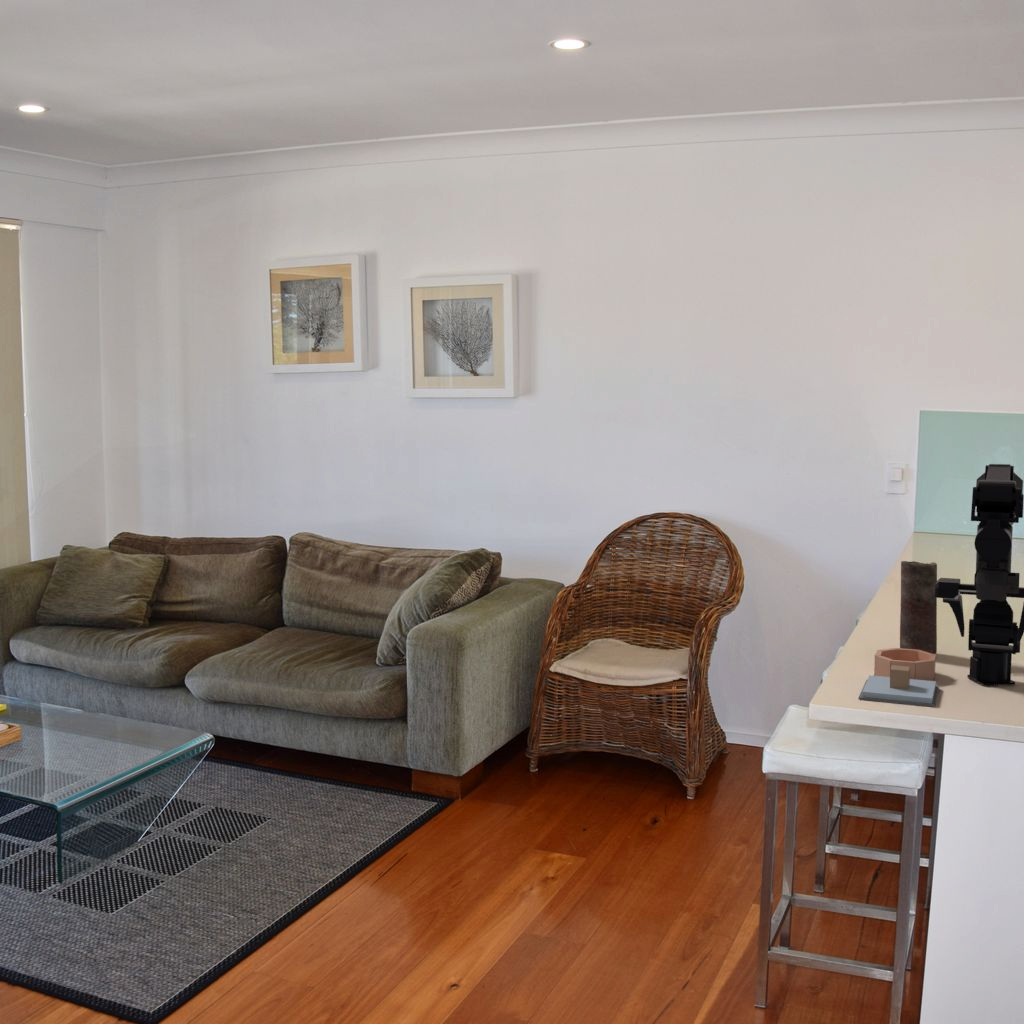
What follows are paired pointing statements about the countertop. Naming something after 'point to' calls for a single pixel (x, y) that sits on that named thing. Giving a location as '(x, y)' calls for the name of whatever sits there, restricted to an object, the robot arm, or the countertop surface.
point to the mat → (901, 701)
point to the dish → (906, 662)
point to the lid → (899, 687)
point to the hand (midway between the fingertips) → (990, 638)
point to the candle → (918, 606)
